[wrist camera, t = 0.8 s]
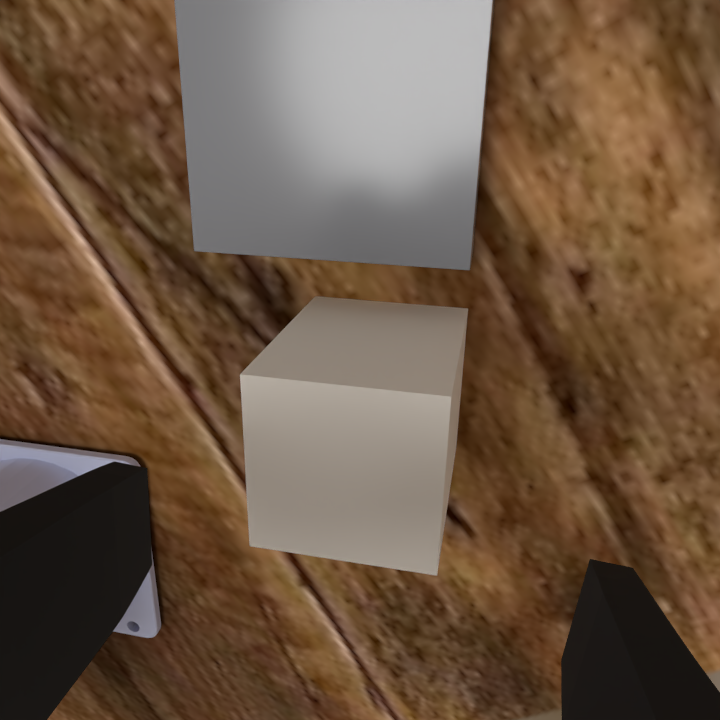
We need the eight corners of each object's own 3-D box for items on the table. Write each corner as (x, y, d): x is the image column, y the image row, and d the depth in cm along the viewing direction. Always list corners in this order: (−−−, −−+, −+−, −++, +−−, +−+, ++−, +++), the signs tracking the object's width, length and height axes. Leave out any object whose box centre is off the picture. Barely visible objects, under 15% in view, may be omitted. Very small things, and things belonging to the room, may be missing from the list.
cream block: (316, 429, 21) (249, 546, 16) (315, 295, 19) (239, 374, 14) (456, 446, 20) (437, 575, 15) (468, 308, 19) (451, 396, 13)
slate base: (216, 239, 19) (194, 250, 18) (196, -56, 16) (169, -70, 15) (472, 256, 18) (470, 270, 17) (500, -64, 15) (499, -80, 14)
